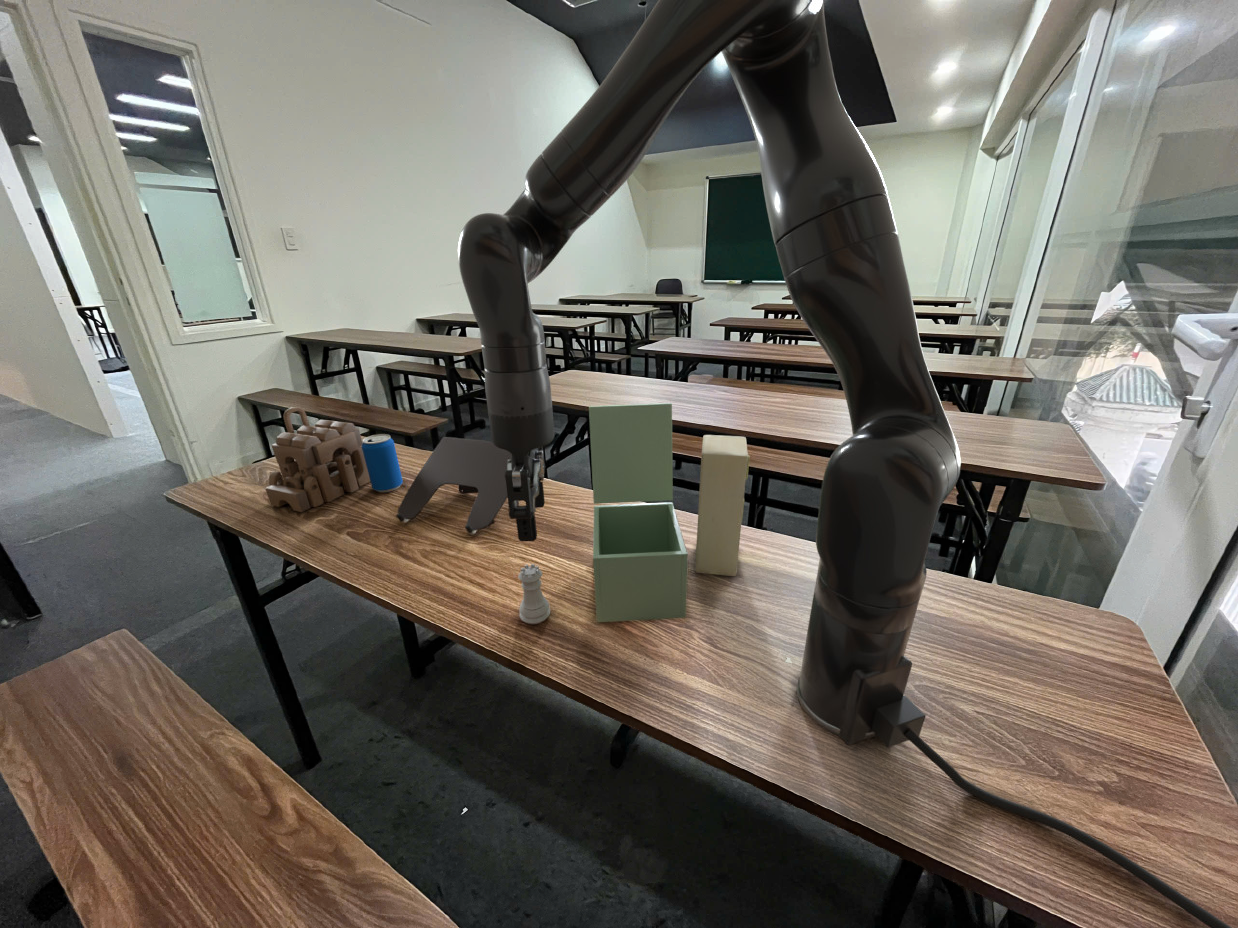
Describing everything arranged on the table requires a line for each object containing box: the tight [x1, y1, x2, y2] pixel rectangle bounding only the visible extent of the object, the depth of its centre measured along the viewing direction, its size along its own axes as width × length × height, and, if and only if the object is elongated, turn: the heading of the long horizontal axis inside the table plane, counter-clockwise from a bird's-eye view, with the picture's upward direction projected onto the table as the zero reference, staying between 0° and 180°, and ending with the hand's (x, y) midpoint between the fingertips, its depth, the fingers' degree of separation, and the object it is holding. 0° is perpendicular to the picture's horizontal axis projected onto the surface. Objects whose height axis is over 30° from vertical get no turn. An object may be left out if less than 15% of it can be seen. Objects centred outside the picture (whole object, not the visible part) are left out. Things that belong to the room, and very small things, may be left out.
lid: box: [588, 402, 674, 505], centre depth 77 cm, size 15×13×5 cm
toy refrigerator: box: [694, 434, 751, 577], centre depth 76 cm, size 8×7×21 cm
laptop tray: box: [395, 436, 511, 536], centre depth 100 cm, size 23×23×9 cm
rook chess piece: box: [518, 563, 551, 625], centre depth 68 cm, size 4×4×8 cm
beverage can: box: [361, 433, 404, 493], centre depth 107 cm, size 6×6×12 cm
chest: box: [592, 501, 689, 623], centre depth 72 cm, size 15×13×11 cm
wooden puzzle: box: [264, 406, 371, 513], centre depth 107 cm, size 22×15×19 cm, turn 158°
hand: (532, 522), depth 63 cm, fingers open, 8 cm apart
